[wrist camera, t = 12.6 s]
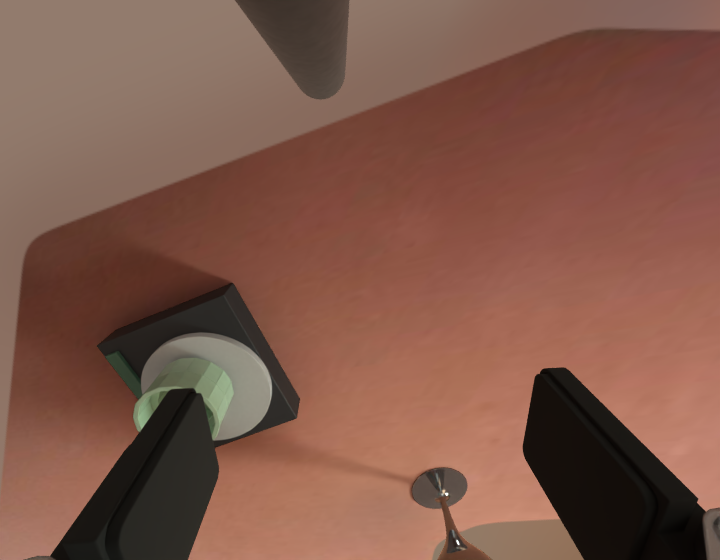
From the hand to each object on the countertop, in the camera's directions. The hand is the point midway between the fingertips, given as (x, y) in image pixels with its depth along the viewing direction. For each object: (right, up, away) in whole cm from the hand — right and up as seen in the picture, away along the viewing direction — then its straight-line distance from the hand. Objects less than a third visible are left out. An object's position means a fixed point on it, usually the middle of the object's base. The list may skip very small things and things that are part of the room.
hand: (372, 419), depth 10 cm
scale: (-16, -5, +27) cm, 32 cm away
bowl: (-16, -6, +23) cm, 29 cm away
